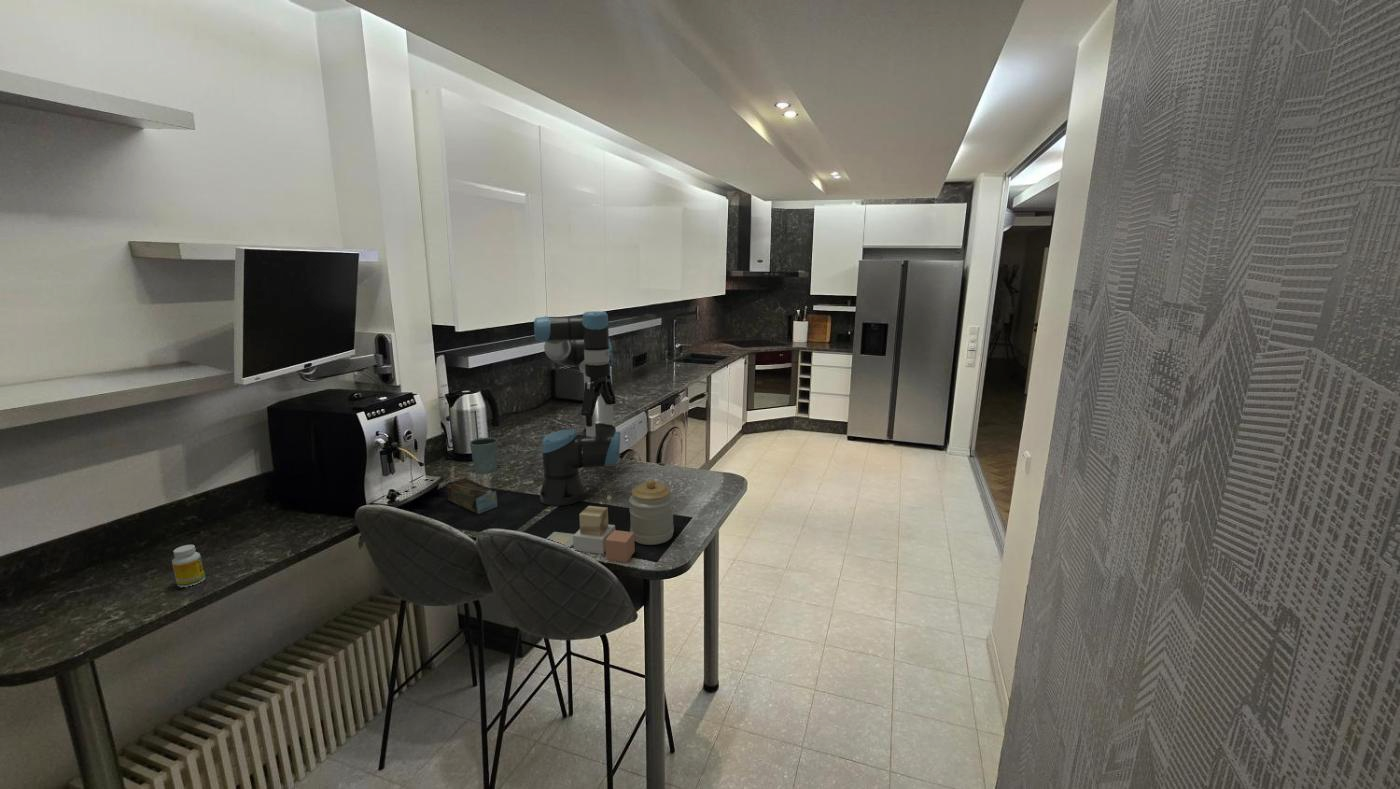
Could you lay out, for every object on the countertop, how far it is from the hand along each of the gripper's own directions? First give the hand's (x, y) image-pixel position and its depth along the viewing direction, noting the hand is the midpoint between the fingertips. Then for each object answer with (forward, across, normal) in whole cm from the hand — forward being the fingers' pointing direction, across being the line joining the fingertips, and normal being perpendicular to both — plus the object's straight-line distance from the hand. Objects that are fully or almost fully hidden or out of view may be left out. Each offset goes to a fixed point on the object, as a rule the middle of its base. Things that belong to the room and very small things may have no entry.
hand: (600, 430), depth 173 cm
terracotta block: (+29, -23, -15) cm, 40 cm away
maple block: (+24, -19, -6) cm, 31 cm away
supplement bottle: (+29, -62, +87) cm, 110 cm away
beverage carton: (+29, -2, +48) cm, 56 cm away
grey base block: (+29, -19, -6) cm, 35 cm away
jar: (+29, -10, -20) cm, 36 cm away
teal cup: (+29, +28, +63) cm, 75 cm away
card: (+29, -20, +5) cm, 35 cm away
